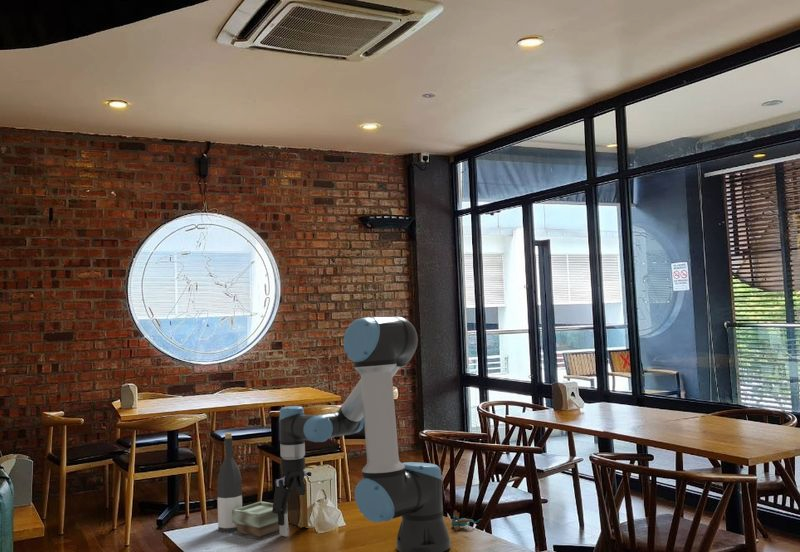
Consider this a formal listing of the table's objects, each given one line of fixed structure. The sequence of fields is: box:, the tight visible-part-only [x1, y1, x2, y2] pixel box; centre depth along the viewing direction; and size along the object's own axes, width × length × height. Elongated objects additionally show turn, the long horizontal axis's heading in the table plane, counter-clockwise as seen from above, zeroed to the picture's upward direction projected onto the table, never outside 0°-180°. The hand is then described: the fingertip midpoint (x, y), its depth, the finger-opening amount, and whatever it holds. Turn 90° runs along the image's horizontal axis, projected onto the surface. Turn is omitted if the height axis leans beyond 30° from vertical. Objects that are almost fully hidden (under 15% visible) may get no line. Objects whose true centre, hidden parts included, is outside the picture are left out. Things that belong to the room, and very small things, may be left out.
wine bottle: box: [216, 432, 243, 533], centre depth 233 cm, size 8×8×30 cm
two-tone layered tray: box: [231, 501, 289, 541], centre depth 228 cm, size 12×12×7 cm
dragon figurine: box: [450, 509, 483, 532], centre depth 224 cm, size 6×7×8 cm
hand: (294, 531), depth 226 cm, fingers open, 9 cm apart
